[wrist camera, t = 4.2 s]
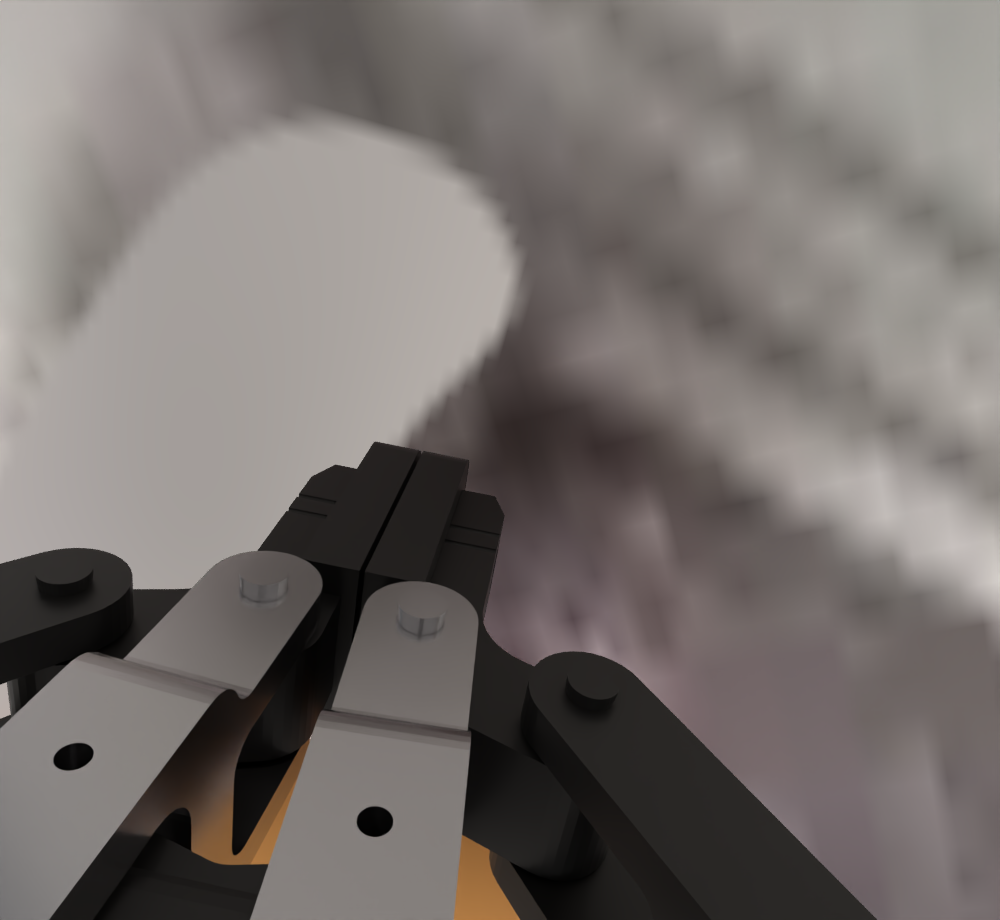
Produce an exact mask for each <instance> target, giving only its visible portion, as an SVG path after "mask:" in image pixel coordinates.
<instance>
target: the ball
mask: <svg viewBox="0 0 1000 920" xmlns="http://www.w3.org/2000/svg"><path fill="white" fill-rule="evenodd" d="M309 742H310V741H309ZM296 781H297V779H296ZM296 781H295V783H294V785H293V787H292V789H291V791H290V792H289V794H288V796H287V798H286V800H285V802H284V803H283V805H282V807H281V809H280V811H279V813H278V814H277V816H276V818H275V820H274V822H273V824H272V825H271V827H270V829H269V831H268V833H267V835H266V837H265V838H264V840H263V842H262V844H261V846H260V848H259V849H258V851H257V853H256V855H255V857H254V859H253V860H252V862H251V864H269V862H270V859H271V856H272V853H273V850H274V847H275V844H276V841H277V838H278V835H279V832H280V829H281V826H282V823H283V820H284V817H285V814H286V811H287V808H288V805H289V802H290V799H291V796H292V793H293V790H294V787H295V784H296ZM489 853H490V850H489V849H487V848H485V847H483V846H481V845H480V844H478V843H476V842H474V841H472V840H471V839H469V838H467V837H465V836H463V835H462V839H461V849H460V859H459V870H458V880H457V891H456V901H455V911H454V920H520V919H519V917H518V915H517V914H516V912H515V911H514V909H513V907H512V906H511V904H510V902H509V901H508V899H507V898H506V896H505V894H504V893H503V891H502V890H501V888H500V886H499V885H498V883H497V881H496V879H495V877H494V875H493V873H492V870H491V867H490V860H489Z"/></svg>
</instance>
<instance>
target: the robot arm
mask: <svg viewBox="0 0 1000 920" xmlns="http://www.w3.org/2000/svg"><path fill="white" fill-rule="evenodd" d="M468 467H469V460H465V459H460V458H455V457H450V456H445V455H440V454H435V453H430V452H425V451H424V452H423V453H422V455H421V451H420V450H415V449H410V448H405V447H400V446H395V445H390V444H385V443H380V442H374V443H373V445H372V446H371V448H370V449H369V451H368V453H367V454H366V456H365V457H364V459H363V460H362V462H361V464H360V465H359V467H358V468H357V469H354V468H350V467H345V466H340V465H334V466H332V467H330V468H328V469H326V470H324V471H322V472H320V473H318V474H316V475H314V476H312V477H311V478H310V480H309V481H308V482H307V484H306V485H305V487H304V488H303V489H302V491H301V492H300V493H299V497H297V498H296V499H295V500H294V502H293V503H292V504H291V506H290V507H289V511H286V512H285V514H284V515H283V517H282V518H281V519H280V521H279V522H278V523H277V525H276V526H275V527H274V529H273V530H272V532H271V533H270V534H269V536H268V537H267V538H266V540H265V541H264V542H263V544H262V545H261V547H260V548H259V549H258V551H253V552H246V553H240V554H237V555H234V556H231V557H228V558H226V559H224V560H222V561H220V562H219V563H217V564H216V565H214V566H213V567H212V568H211V569H210V570H209V571H208V572H207V573H206V574H205V575H204V576H203V577H202V578H201V579H200V580H199V581H198V582H197V583H196V584H195V586H194V587H193V588H190V589H166V590H165V589H149V590H148V589H142V590H141V589H137V590H136V589H133V583H132V572H131V569H130V567H129V566H128V564H127V563H126V562H124V561H123V560H122V559H121V558H119V557H117V556H115V555H113V554H110V553H108V552H104V551H100V550H95V549H86V548H68V549H60V550H53V551H48V552H43V553H39V554H35V555H32V556H28V557H24V558H21V559H17V560H13V561H9V562H6V563H2V564H0V684H2V683H6V682H7V687H8V695H9V703H10V711H11V715H9V716H6V717H4V718H2V719H0V920H454V911H455V901H456V891H457V880H458V870H459V859H460V849H461V839H462V835H463V836H465V837H467V838H469V839H471V840H472V841H474V842H476V843H478V844H480V845H481V846H483V847H485V848H487V849H489V850H490V853H489V860H490V867H491V870H492V873H493V875H494V877H495V879H496V881H497V883H498V885H499V886H500V888H501V890H502V891H503V893H504V894H505V896H506V898H507V899H508V901H509V902H510V904H511V906H512V907H513V909H514V911H515V912H516V914H517V915H518V917H519V919H520V920H877V919H876V918H875V917H874V916H873V915H872V914H871V913H870V912H869V911H868V910H867V909H866V908H865V907H864V906H863V905H862V904H861V903H860V902H859V901H858V900H857V899H856V898H855V897H854V896H853V895H852V894H851V893H850V892H849V891H848V890H847V889H846V888H845V887H844V886H843V885H842V884H841V883H840V882H839V881H838V880H837V879H836V878H835V877H834V876H833V875H832V874H831V873H830V872H829V871H828V870H827V869H826V868H825V867H824V866H823V865H822V864H821V863H820V862H819V861H818V860H817V859H816V858H815V857H814V856H813V855H812V854H811V853H810V852H809V851H808V850H807V848H806V847H805V846H804V845H803V844H802V843H801V842H800V841H799V840H798V839H797V838H796V837H795V836H794V835H793V834H792V833H791V832H790V831H789V830H788V829H787V828H786V827H785V826H784V825H783V824H782V823H781V822H780V821H779V820H778V819H777V818H776V817H775V816H774V815H773V814H772V813H771V812H770V811H769V810H768V809H767V808H766V807H765V806H764V805H763V804H762V803H761V802H760V801H759V800H758V799H757V798H756V797H755V796H754V795H753V794H752V793H751V792H750V791H749V790H748V789H747V788H746V787H745V786H744V785H743V784H742V783H741V782H740V781H739V780H738V779H737V778H736V777H735V776H734V775H733V774H732V773H731V772H730V771H729V770H728V769H727V768H726V767H725V766H724V765H723V764H722V763H721V762H720V761H719V760H718V759H717V758H716V757H715V756H714V755H713V754H712V752H711V751H710V750H709V749H708V748H707V747H706V746H705V745H704V744H703V743H702V742H701V741H700V740H699V739H698V738H697V737H696V736H695V735H694V734H693V733H692V732H691V731H690V730H689V729H688V728H687V727H686V726H685V725H684V724H683V723H682V722H681V721H680V720H679V719H678V718H677V717H676V716H675V715H674V714H673V713H672V712H671V711H670V710H669V709H668V708H667V707H666V706H665V705H664V704H663V703H662V702H661V701H660V700H659V699H658V698H657V697H656V696H655V695H654V694H653V693H652V692H651V691H650V690H649V689H648V688H647V687H646V686H645V685H644V684H643V683H642V682H641V681H640V680H639V679H638V678H637V677H636V676H635V675H634V674H633V673H632V672H630V671H629V670H628V669H626V668H625V667H623V666H622V665H620V664H618V663H616V662H614V661H613V660H610V659H608V658H605V657H603V656H599V655H596V654H591V653H586V652H574V651H573V652H562V653H557V654H553V655H551V656H548V657H546V658H544V659H543V660H541V661H540V662H539V663H538V664H537V665H535V667H534V666H532V665H530V664H527V663H525V662H523V661H521V660H519V659H517V658H515V657H513V656H512V655H510V654H509V653H507V652H506V651H504V650H503V649H502V648H500V647H499V646H498V645H497V644H496V643H495V642H494V641H493V640H492V638H491V637H490V636H489V634H488V633H487V631H486V629H485V626H484V624H483V621H484V616H485V612H486V607H487V603H488V598H489V594H490V588H491V583H492V578H493V573H494V568H495V562H496V557H497V552H498V547H499V542H500V536H501V531H502V526H503V521H504V516H505V515H504V513H503V511H502V509H501V508H500V506H499V504H498V502H497V500H496V498H495V496H490V495H485V494H480V493H475V492H470V491H465V487H466V481H467V475H468ZM311 735H312V736H311ZM310 737H311V739H310ZM309 741H310V742H309ZM296 779H297V781H296ZM295 781H296V784H295V787H294V790H293V793H292V796H291V799H290V802H289V805H288V808H287V811H286V814H285V817H284V820H283V823H282V826H281V829H280V832H279V835H278V838H277V841H276V844H275V847H274V850H273V853H272V856H271V859H270V862H269V864H251V862H252V860H253V859H254V857H255V855H256V853H257V851H258V849H259V848H260V846H261V844H262V842H263V840H264V838H265V837H266V835H267V833H268V831H269V829H270V827H271V825H272V824H273V822H274V820H275V818H276V816H277V814H278V813H279V811H280V809H281V807H282V805H283V803H284V802H285V800H286V798H287V796H288V794H289V792H290V791H291V789H292V787H293V785H294V783H295Z"/></svg>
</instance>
